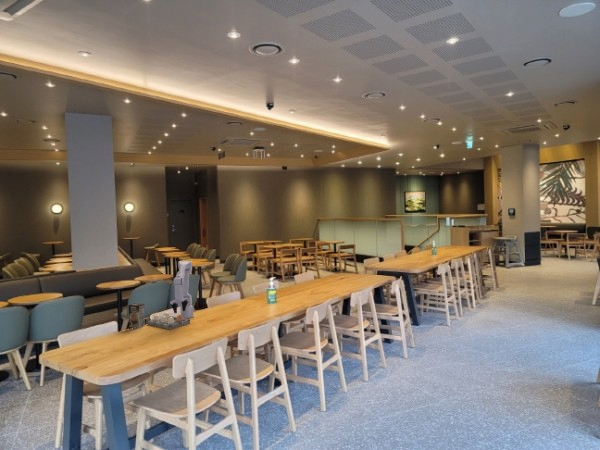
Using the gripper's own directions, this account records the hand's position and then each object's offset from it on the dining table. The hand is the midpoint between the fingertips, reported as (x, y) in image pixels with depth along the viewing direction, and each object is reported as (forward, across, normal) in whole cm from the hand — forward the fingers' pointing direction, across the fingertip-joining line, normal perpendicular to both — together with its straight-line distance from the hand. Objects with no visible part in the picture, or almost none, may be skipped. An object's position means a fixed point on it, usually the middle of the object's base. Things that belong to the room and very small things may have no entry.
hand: (179, 312), depth 303 cm
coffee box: (+9, -20, +23) cm, 32 cm away
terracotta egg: (+8, 0, 0) cm, 8 cm away
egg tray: (+9, -4, +8) cm, 13 cm away
